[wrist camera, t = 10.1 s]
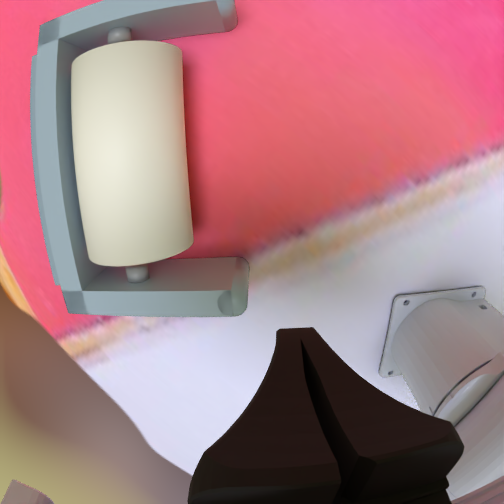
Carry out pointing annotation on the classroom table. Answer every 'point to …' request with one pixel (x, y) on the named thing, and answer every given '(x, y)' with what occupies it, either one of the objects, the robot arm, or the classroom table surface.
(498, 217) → the classroom table surface
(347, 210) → the classroom table surface
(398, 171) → the classroom table surface
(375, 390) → the robot arm
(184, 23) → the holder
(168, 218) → the cylinder
